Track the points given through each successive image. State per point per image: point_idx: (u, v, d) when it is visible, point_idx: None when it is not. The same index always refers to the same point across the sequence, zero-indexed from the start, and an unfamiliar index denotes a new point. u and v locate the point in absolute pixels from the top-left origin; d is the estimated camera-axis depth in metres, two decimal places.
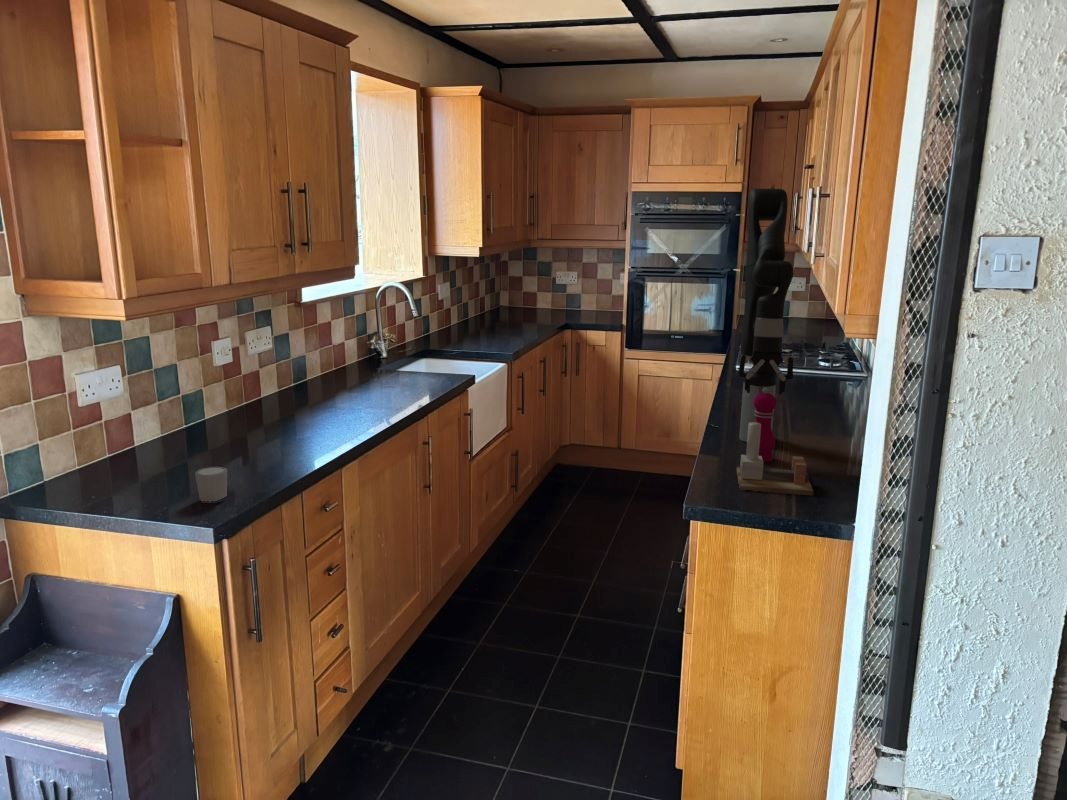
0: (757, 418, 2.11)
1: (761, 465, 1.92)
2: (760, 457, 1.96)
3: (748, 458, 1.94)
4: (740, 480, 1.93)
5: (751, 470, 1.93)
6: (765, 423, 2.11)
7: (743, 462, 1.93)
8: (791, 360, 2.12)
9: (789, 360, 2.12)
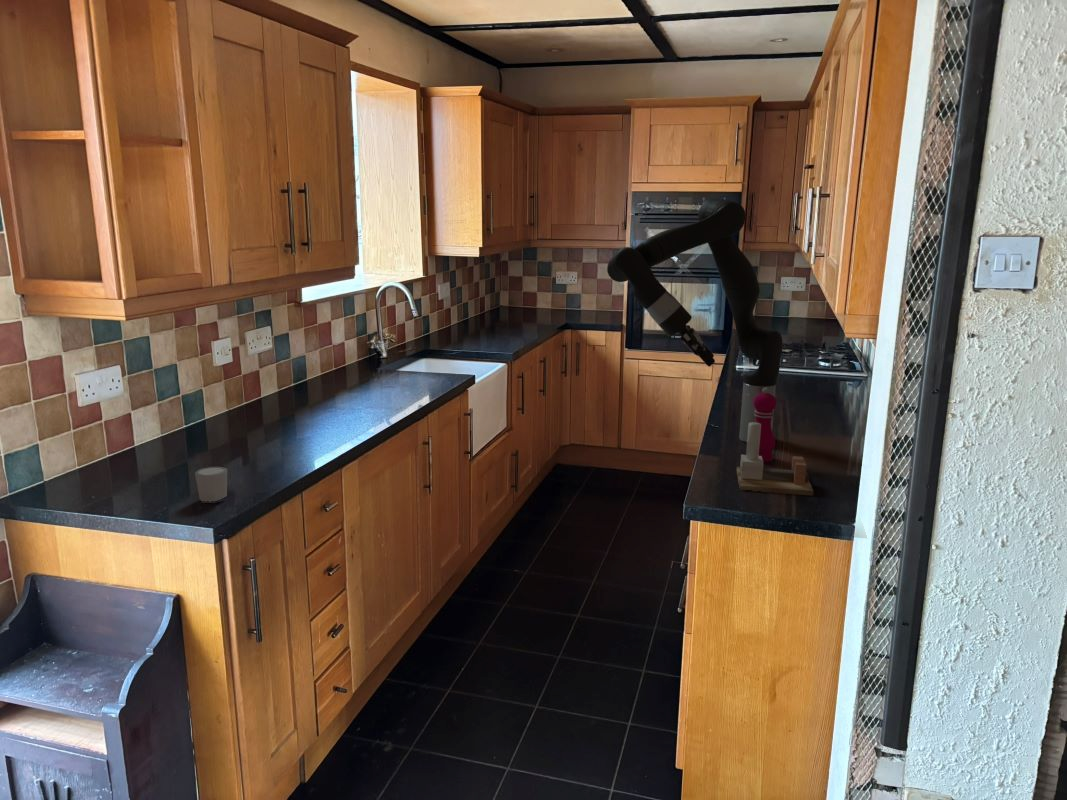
0: (757, 418, 2.11)
1: (761, 465, 1.92)
2: (760, 457, 1.96)
3: (748, 458, 1.94)
4: (740, 480, 1.93)
5: (751, 470, 1.93)
6: (765, 423, 2.11)
7: (743, 462, 1.93)
8: (682, 340, 1.90)
9: None
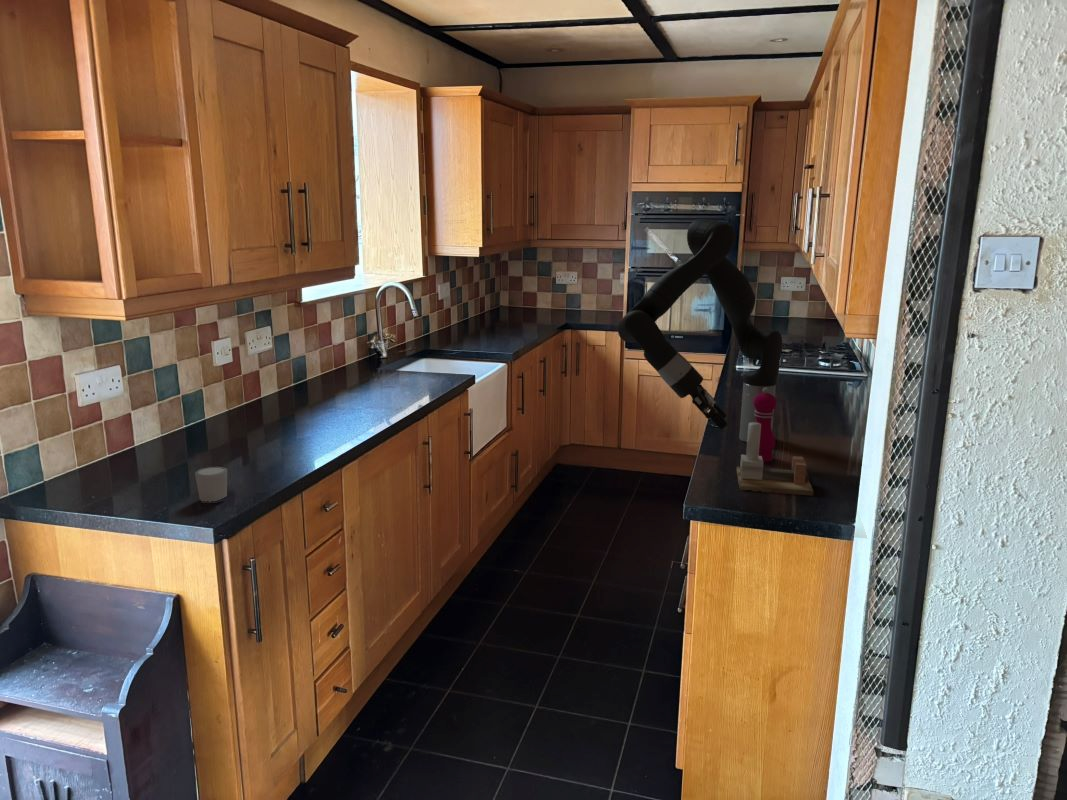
0: (757, 418, 2.11)
1: (761, 465, 1.92)
2: (760, 457, 1.96)
3: (748, 458, 1.94)
4: (740, 480, 1.93)
5: (751, 470, 1.93)
6: (765, 423, 2.11)
7: (743, 462, 1.93)
8: (694, 403, 1.89)
9: None
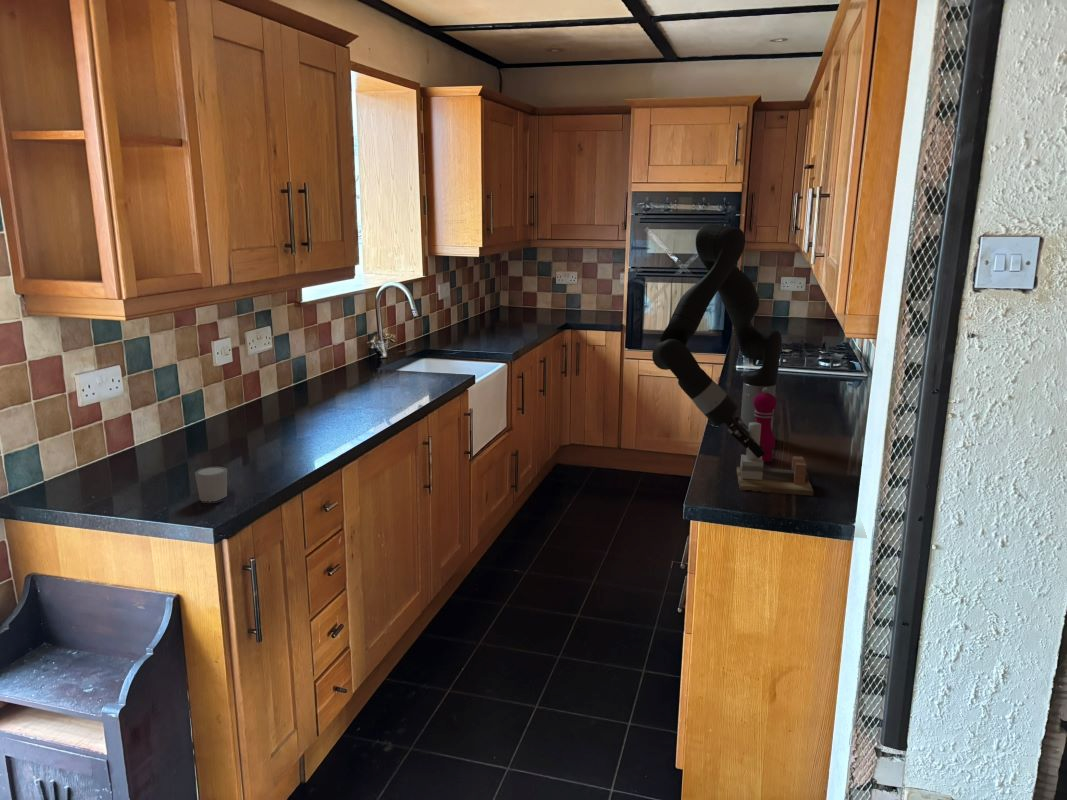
0: (757, 418, 2.11)
1: (761, 465, 1.92)
2: (760, 457, 1.96)
3: (748, 458, 1.94)
4: (740, 480, 1.93)
5: (751, 470, 1.93)
6: (765, 423, 2.11)
7: (743, 462, 1.93)
8: None
9: None
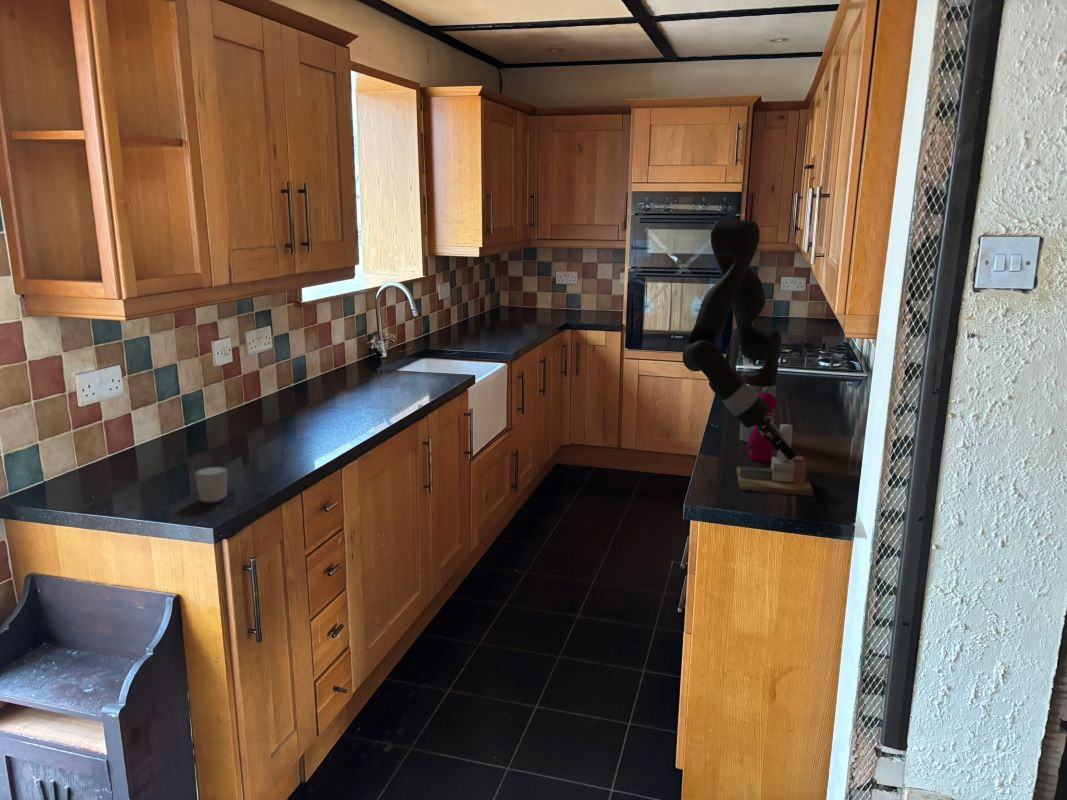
0: None
1: (793, 467, 1.91)
2: None
3: (779, 460, 1.93)
4: (740, 480, 1.93)
5: (783, 472, 1.92)
6: None
7: (775, 464, 1.91)
8: None
9: None
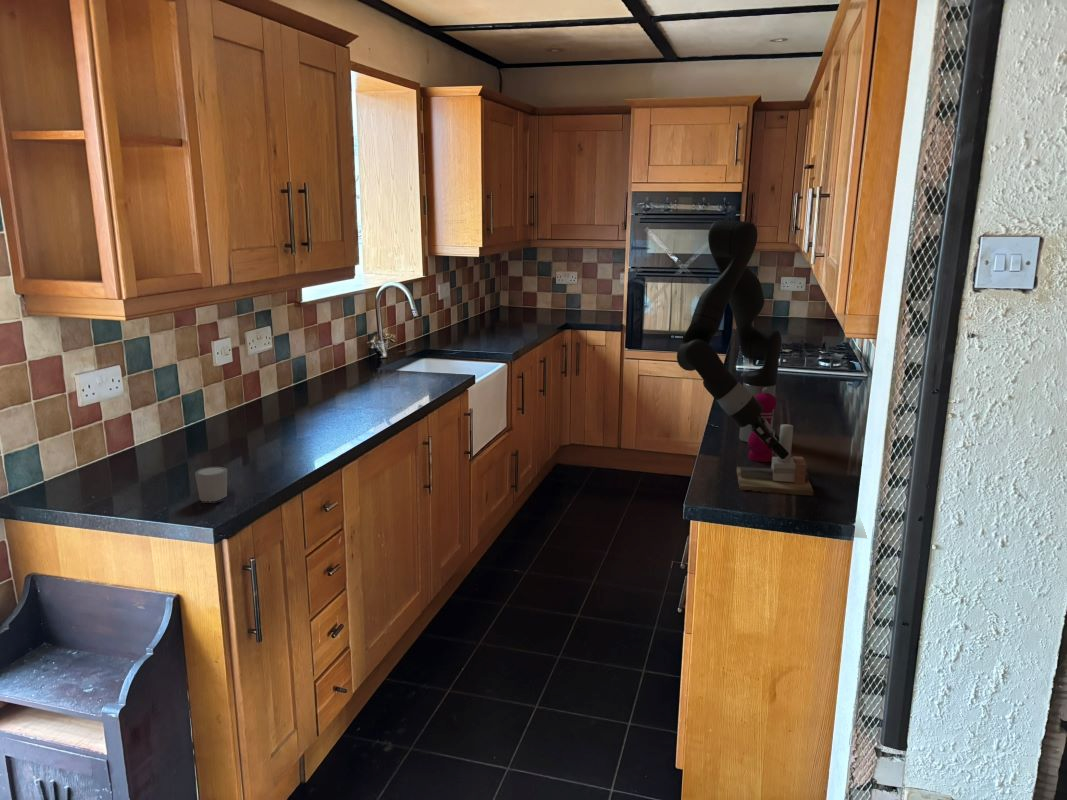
0: None
1: (793, 467, 1.91)
2: (792, 459, 1.95)
3: (780, 460, 1.93)
4: (740, 480, 1.93)
5: (783, 472, 1.92)
6: None
7: (775, 464, 1.91)
8: (755, 433, 1.87)
9: None
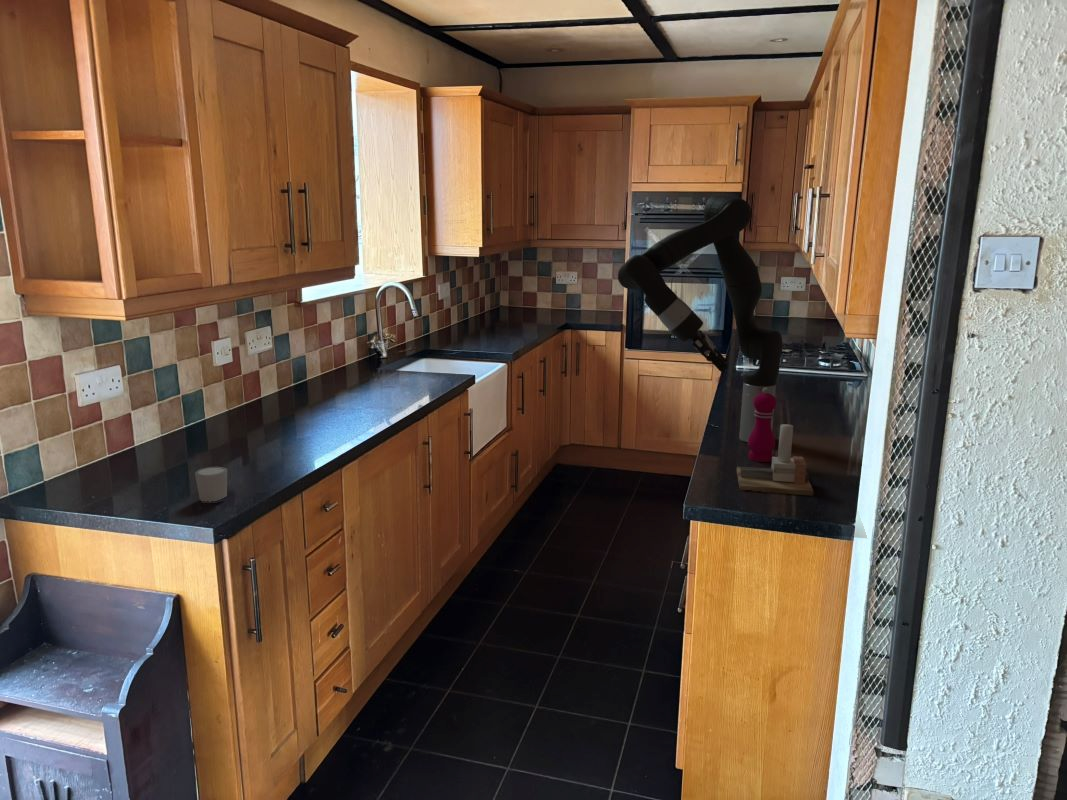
0: (757, 418, 2.11)
1: (793, 467, 1.91)
2: (792, 459, 1.95)
3: (780, 460, 1.93)
4: (740, 480, 1.93)
5: (783, 472, 1.92)
6: (765, 423, 2.11)
7: (775, 464, 1.91)
8: (694, 346, 1.91)
9: None
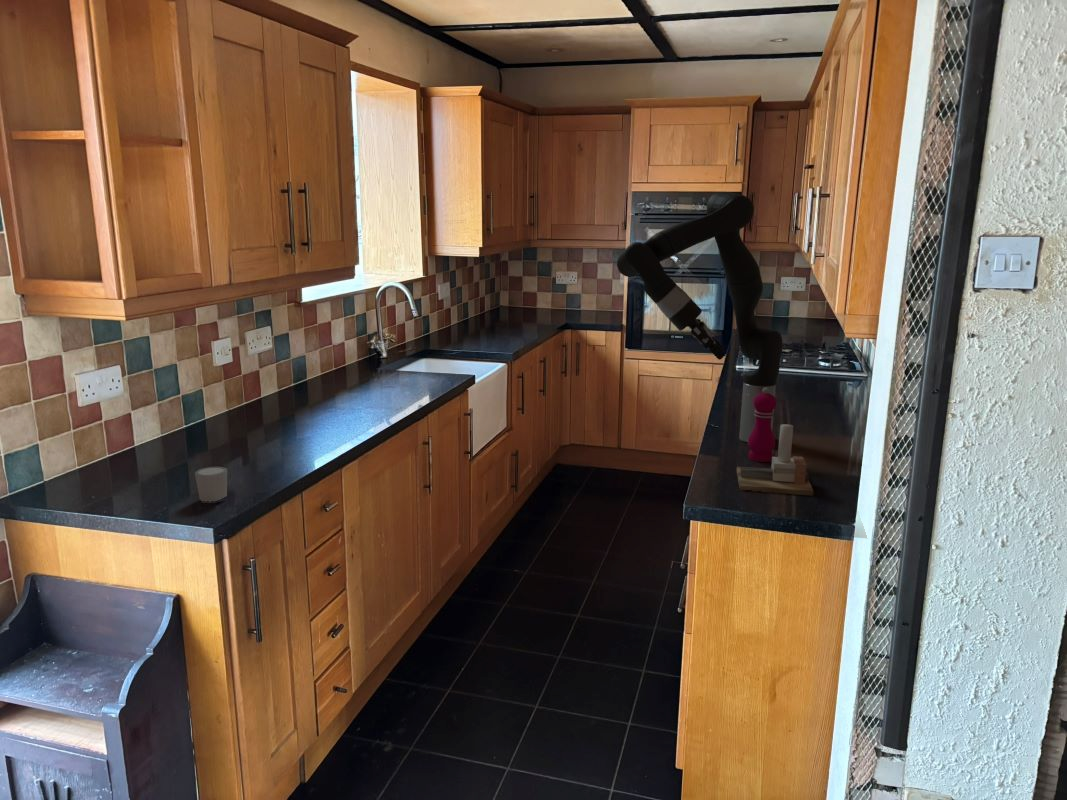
0: (757, 418, 2.11)
1: (793, 467, 1.91)
2: (792, 459, 1.95)
3: (780, 460, 1.93)
4: (740, 480, 1.93)
5: (783, 472, 1.92)
6: (765, 423, 2.11)
7: (775, 464, 1.91)
8: (692, 333, 1.92)
9: None
